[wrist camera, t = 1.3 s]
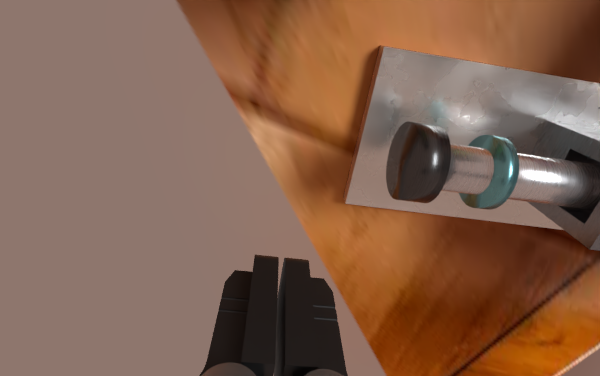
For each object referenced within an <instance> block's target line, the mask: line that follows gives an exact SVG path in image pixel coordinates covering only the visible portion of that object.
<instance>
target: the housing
mask: <svg viewBox="0 0 600 376" xmlns="http://www.w3.org/2000/svg"><path fill="white" fill-rule="evenodd" d="M408 121H409V122H416V123H423V124H429V125H436V126H441V127H443V128H444V129H445V131H446V132H447V134H448V136H449V139H450V143H452V144H459V145H466V146H468V145H469V144H470V143H471V142H472V141H473V140H474V139H475V138H477V137H479V136H481V135H492V136H499V137H504V138H507V139H508V140H510V141H511V142H512V143H513V145H514V146H515V148H516V150H517V153H521V154H528V155H535V156H542V157H549V158H556V159H562V160H569V161H576V162H583V163H590V164H597V165H600V83H596V82H590V81H584V80H578V79H573V78H567V77H561V76H555V75H549V74H544V73H538V72H532V71H526V70H520V69H515V68H509V67H503V66H497V65H491V64H486V63H480V62H474V61H468V60H462V59H457V58H451V57H445V56H439V55H433V54H428V53H422V52H416V51H410V50H404V49H399V48H393V47H387V46H381V45H380V48H379V52H378V56H377V60H376V64H375V69H374V73H373V77H372V81H371V85H370V89H369V93H368V97H367V101H366V106H365V110H364V114H363V118H362V122H361V126H360V130H359V134H358V139H357V143H356V147H355V151H354V155H353V159H352V163H351V167H350V171H349V176H348V180H347V184H346V188H345V192H344V196H343V198H344V201H345V204H353V205H361V206H369V207H377V208H386V209H394V210H402V211H411V212H419V213H427V214H435V215H444V216H452V217H460V218H468V219H477V220H485V221H493V222H502V223H510V224H518V225H526V226H535V227H543V228H551V229H559V230H565V231H566V232H567V233H569V234H570V235H571V236H573V237H574V238H575V239H577V240H578V241H579V242H581V243H582V244H583V245H584V246H586V247H587V248H588V249H590V250H599V251H600V201H599V203H598V204H597V206H596V207H595V209H594V210H589V209H581V208H574V207H566V206H558V205H550V204H543V203H535V202H527V201H519V200H512V199H507V200H506V202H505V203H503V204H502V205H501V206H499V207H498V208H495V209H491V210H487V209H479V208H472V207H469V206H467V205H466V204H465V203H464V202H463V201H462V199H461V197H460V195H459V193H457V192H450V191H442V190H441V192H440V193H439V195H438V196H437V197H436V198H435V199H434V200H433V201H431V202H429V203H419V202H411V201H403V200H395V199H393V198H392V197H391V196H390V194H389V192H388V188H387V182H386V166H387V159H388V154H389V149H390V146H391V143H392V140H393V138H394V136H395V134H396V132H397V130H398V129H399V127H400V126H401V125H402V124H403V123H405V122H408Z"/></svg>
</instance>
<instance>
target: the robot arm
mask: <svg viewBox="0 0 600 376" xmlns="http://www.w3.org/2000/svg"><path fill="white" fill-rule="evenodd" d="M277 290H278V257H272V256H262V255H255V259H254V266H253V272H248V271H236V270H235V271H234V272H233V273H232V275H231V276H230V277H229V278H228V279H227V280H226V282H225V285H224V289H223V293H222V299H221V302H220V306H219V312H218V315H217V319H216V324H215V328H214V332H213V337H212V341H211V346H210V350H209V354H208V359H207V362H206V365H205V367H204V370H203V371H202V373H201V374H200V376H273V374H274V376H348V375H347V372H346V367H345V361H344V355H343V350H342V343H341V338H340V331H339V326H338V322H337V314H336V310H335V302H334V296H333V292H332V290H331V289H330V287H329V286H328V284H327V283H326V281H325V280H324V279H321V278H311V277H310V269H309V261H308V260H302V259H292V258H284V263H283V268H282V274H281V280H280V286H279V292H278V291H277ZM277 292H278V298H277Z"/></svg>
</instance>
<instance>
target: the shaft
mask: <svg viewBox="0 0 600 376" xmlns="http://www.w3.org/2000/svg"><path fill="white" fill-rule="evenodd" d="M386 182H387V188H388V192H389V194H390V196H391V197H392V198H393V199H395V200H403V201H411V202H419V203H429V202H431V201H433V200H434V199H435V198H436V197H437V196H438V195H439V193H440V192H441V190H442V191H450V192H457V193H459V195H460V197H461V199H462V201H463V202H464V203H465V204H466V205H467V206H469V207H472V208H479V209H487V210H491V209H495V208H498V207H499V206H501V205H502V204H503V203H505V202H506V200H507V199H512V200H519V201H527V202H535V203H543V204H550V205H558V206H566V207H574V208H581V209H589V210H594V209H595V207H596V206H597V204H598V203H599V201H600V165H597V164H590V163H583V162H576V161H569V160H562V159H556V158H549V157H542V156H535V155H528V154H521V153H517V150H516V148H515V146H514V145H513V143H512V142H511V141H510V140H508V139H507V138H504V137H499V136H492V135H481V136H479V137H477V138H475V139H474V140H473V141H472V142H471V143H470V144H469V145H468V146H466V145H459V144H452V143H450V139H449V136H448V134H447V132H446V131H445V129H444V128H443V127H441V126H436V125H429V124H423V123H416V122H409V121H408V122H405V123H403V124H402V125H401V126H400V127H399V129H398V130H397V132H396V134H395V136H394V138H393V140H392V143H391V146H390V149H389V154H388V159H387V166H386Z"/></svg>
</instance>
